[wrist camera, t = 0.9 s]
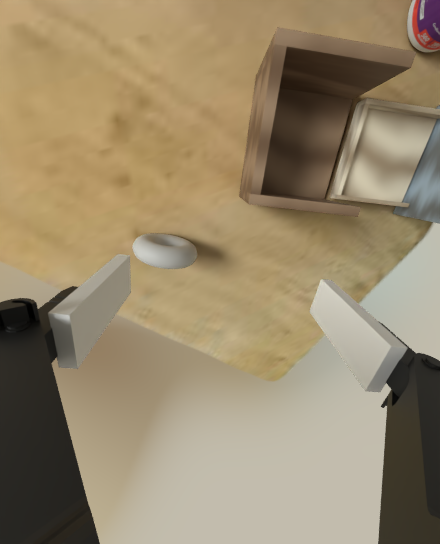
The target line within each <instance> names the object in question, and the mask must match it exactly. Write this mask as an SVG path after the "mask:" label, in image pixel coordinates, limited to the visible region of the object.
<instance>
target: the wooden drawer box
mask: <svg viewBox="0 0 440 544" xmlns="http://www.w3.org/2000/svg"><path fill="white" fill-rule="evenodd" d="M415 55H416V52H414V51H408V50H403V49H397V48H391V47H386V46H380V45H374V44H369V43H363V42H358V41H352V40H346V39H341V38H335V37H329V36H324V35H318V34H312V33H307V32H301V31H296V30H290V29H284V28H279V27H277V29H276V31H275V34H274V36H273V38H272V41H271V43H270V45H269V48H268V50H267V52H266V55H265V57H264V59H263V61H262V64H261V66H260V68H259V71H258V73H257V75H256V81H255V88H254V95H253V102H252V109H251V116H250V123H249V130H248V137H247V144H246V152H245V159H244V166H243V173H242V180H241V187H240V194H239V197H240V198H242V199H243V200H244V201H246V202H247V203H248V204H252V205H260V206H269V207H277V208H286V209H294V210H303V211H312V212H320V213H329V214H337V215H346V216H354V217H358V215H359V212H360V209H361V207H358V206H353V205H349V204H344V203H339V202H334V201H330V200H325V199H324V198H325V194H326V191H327V187H328V184H329V180H330V177H331V173H332V170H333V166H334V163H335V160H336V156H337V153H338V149H339V146H340V142H341V139H342V135H343V132H344V128H345V125H346V121H347V118H348V114H349V111H350V107H351V104H352V100H353V99H354V98H356V97H358V96H360V95H362V94H364V93H365V92H367V91H369V90H371V89H373V88H375V87H376V86H378V85H380V84H382V83H384V82H385V81H387V80H389V79H391V78H393V77H395V76H396V75H398V74H400V73H402V72H404V71H406V70H407V69H409V68H411V66H412V63H413V60H414V57H415Z"/></svg>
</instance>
